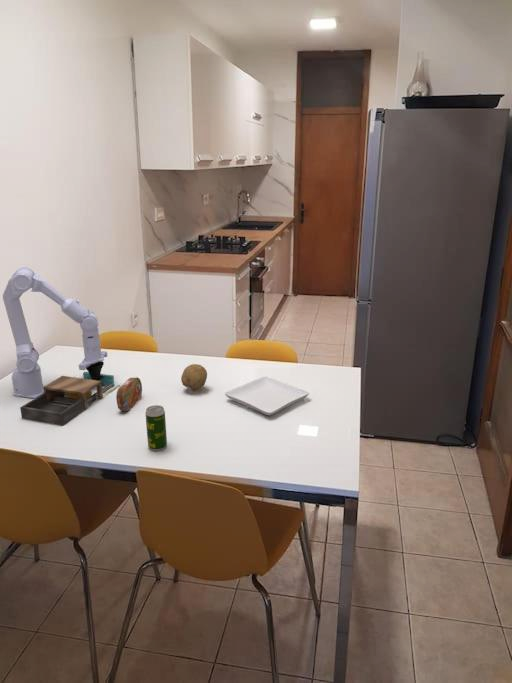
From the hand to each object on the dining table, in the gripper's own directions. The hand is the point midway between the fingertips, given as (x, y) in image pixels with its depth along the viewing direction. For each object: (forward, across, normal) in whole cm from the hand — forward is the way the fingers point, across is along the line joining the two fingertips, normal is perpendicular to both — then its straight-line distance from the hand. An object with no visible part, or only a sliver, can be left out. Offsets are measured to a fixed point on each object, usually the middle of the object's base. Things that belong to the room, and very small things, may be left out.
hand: (95, 381), depth 193 cm
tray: (+2, -13, 0) cm, 13 cm away
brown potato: (+2, +7, -36) cm, 37 cm away
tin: (+2, -10, -20) cm, 22 cm away
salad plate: (+2, +7, -63) cm, 63 cm away
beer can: (+2, -32, -42) cm, 53 cm away
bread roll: (+2, -11, 0) cm, 11 cm away
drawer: (+2, -7, 0) cm, 7 cm away
